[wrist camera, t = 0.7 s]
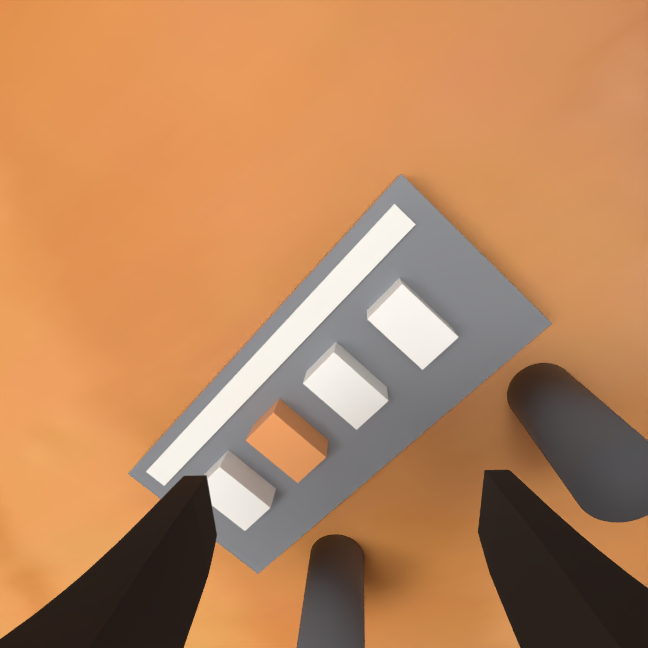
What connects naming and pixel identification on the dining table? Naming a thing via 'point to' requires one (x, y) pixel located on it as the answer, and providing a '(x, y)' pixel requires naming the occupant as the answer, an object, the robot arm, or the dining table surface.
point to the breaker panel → (344, 375)
